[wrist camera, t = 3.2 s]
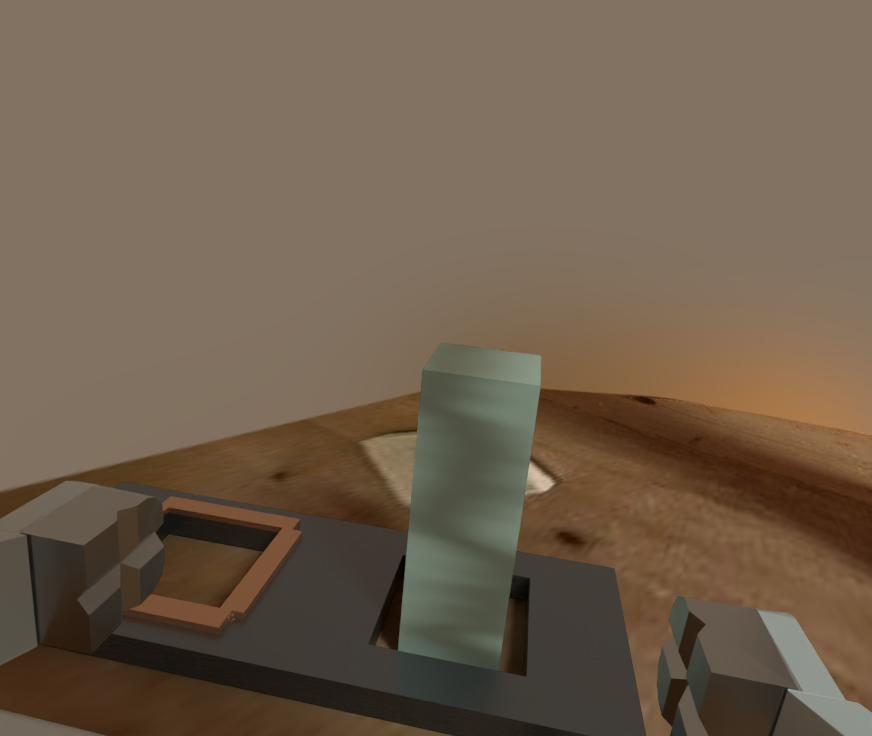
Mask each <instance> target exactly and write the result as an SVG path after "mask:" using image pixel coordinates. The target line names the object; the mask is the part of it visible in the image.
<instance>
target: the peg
mask: <svg viewBox="0 0 872 736" xmlns="http://www.w3.org/2000/svg"><path fill="white" fill-rule="evenodd" d="M540 388H541V355H532V354H525V353H518V352H510V351H502V350H495V349H487V348H479V347H471V346H463V345H456V344H449V343H441V344H440V345H439V347H438V348H437V350H436V351H435V353H434V354H433V355H432V357H431V358H430V360H429V361H428V363H427V364H426V366H425V367H424V368H423V372H422V384H421V395H420V406H419V417H418V429H417V440H416V451H415V462H414V474H413V485H412V496H411V508H410V519H409V530H408V542H407V553H406V564H405V575H404V587H403V598H402V609H401V621H400V632H399V643H398V651H403V652H408V653H412V654H417V655H422V656H427V657H432V658H437V659H442V660H447V661H452V662H457V663H462V664H467V665H471V666H476V667H481V668H486V669H491V670H496V671H498V670H499V663H500V656H501V650H502V643H503V636H504V630H505V623H506V616H507V609H508V603H509V596H510V589H511V583H512V576H513V569H514V562H515V556H516V549H517V542H518V536H519V529H520V522H521V515H522V509H523V502H524V495H525V488H526V482H527V475H528V468H529V462H530V455H531V448H532V441H533V435H534V428H535V421H536V415H537V408H538V401H539V394H540Z"/></svg>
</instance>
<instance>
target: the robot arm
mask: <svg viewBox="0 0 872 736" xmlns="http://www.w3.org/2000/svg"><path fill="white" fill-rule="evenodd" d="M163 523H164V520H163V506H162V503H161V502H160V501H159V500H158V499H157V498H156V497H153V496H148V495H143V494H138V493H134V492H129V491H124V490H119V489H115V488H110V487H105V486H99V485H96V484H91V483H85V482H79V481H65V482H63V483H61V484H59V485H58V486H56V487H54V488H53V489H51V490H49V491H47V492H46V493H44V494H42V495H40V496H39V497H37V498H35V499H33V500H32V501H30V502H28V503H27V504H25V505H23V506H21V507H20V508H18V509H16V510H14V511H13V512H11V513H9V514H7V515H6V516H4V517H2V518H1V519H0V665H2V664H4V663H6V662H8V661H10V660H12V659H14V658H16V657H18V656H20V655H22V654H24V653H26V652H28V651H30V650H32V649H34V648H36V647H37V646H38V644H42V645H47V646H53V647H58V648H63V649H68V650H73V651H78V652H83V653H89V654H92V653H93V652H94V651H95V650H96V649H97V648H98V647H99V646H100V645H101V644H102V643H103V642H104V641H105V640H106V639H107V638H108V637H109V636H110V635H111V634H112V633H113V632H114V631H115V630H116V629H117V628H118V627H119V626H120V625H121V624H122V612H124V611H126V610H129V609H131V608H134V607H136V606H139V605H141V604H142V603H143V602H144V601H145V600H146V599H147V598H148V597H149V596H150V595H151V593H152V592H153V591H154V589H155V587H156V585H157V583H158V581H159V579H160V577H161V575H162V570H163V565H164V545H163V544H162V542H161V541H160V539H159V538H158V536H157V535H156V533H155V532H156V531H157V530H158V529H159V527H160V526H161V525H162V524H163ZM669 621H670V625H671V628H672V632H673V635H674V637H673V638H672V639H670V640H669V641H668V642H667V643H665V644H664V645H663V646H662V651H661V655H660V660H659V664H658V679H657V689H658V700H659V705H660V710H661V714H662V716H663V718H664V719H665V720H666V721H667V722H668V723H669V724H670V725H671V726H672V730H671V734H670V736H872V713H871V712H870V711H869V710H867V709H866V708H865V707H863V706H862V705H861V704H859V703H855V702H851V701H846V700H845V698H844V696H843V695H842V693H841V692H840V690H839V688H838V687H837V685H836V684H835V682H834V680H833V679H832V677H831V675H830V674H829V672H828V671H827V669H826V667H825V666H824V664H823V663H822V661H821V659H820V658H819V656H818V654H817V653H816V651H815V650H814V648H813V646H812V645H811V643H810V642H809V640H808V638H807V637H806V635H805V633H804V632H803V630H802V629H801V627H800V625H799V624H798V622H797V621H796V619H795V618H794V617H793V616H791V615H790V614H788V613H784V612H777V611H770V610H764V609H757V608H748V607H742V606H736V605H730V604H724V603H718V602H712V601H706V600H700V599H693V598H687V597H681V596H677V598H676V600H675V602H674V604H673V607H672V610H671V614H670V618H669ZM0 736H107V735H103V734H99V733H95V732H91V731H87V730H83V729H78V728H74V727H70V726H66V725H62V724H58V723H54V722H50V721H46V720H42V719H38V718H34V717H30V716H26V715H22V714H18V713H14V712H10V711H6V710H2V709H0Z"/></svg>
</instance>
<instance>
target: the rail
mask: <svg viewBox="0 0 872 736" xmlns="http://www.w3.org/2000/svg"><path fill="white" fill-rule="evenodd" d="M114 488H115V489H119V490H124V491H129V492H134V493H138V494H143V495H148V496H153V497H156V498H157V499H158V500H159V501H160V502H161V503H162V506H163V520H164V523H163V524H162V525H161V526H160V527H159V529H158V530H157V531H156V532H155V533H156V535H157V536H158V538H159V539H160V541H162V540H163V539H164V538H165V537H166V536H167V535H169V534H174V535H180V536H185V537H190V538H196V539H201V540H207V541H212V542H217V543H223V544H228V545H233V546H239V547H244V548H250V549H255V550H260V551H264V552H263V553H262V555H261V556H260V557H259V559H258V560H257V561H256V562H255V564H254V565H253V566H252V567H251V569H250V570H249V571H248V573H247V574H246V575H245V576H244V578H243V579H242V580H241V582H240V583H239V584H238V585H237V587H236V588H235V589H234V590H233V592H232V593H231V594H230V596H229V597H228V598H227V599H226V601H225V602H224V603H223V604H222V606H221V607H220V608H218V607H213V606H208V605H203V604H198V603H193V602H188V601H183V600H178V599H173V598H168V597H163V596H158V595H154V594H151V595H150V596H149V597H148V598H147V599H146V600H145V601H144V602H143V603H142V604H141V605H139V606H136V607H134V608H131V609H129V610H126V611H124V612H122V624H121V625H120V626H119V627H118V628H117V629H116V630H115V631H114V632H113V633H112V634H111V635H110V636H109V637H108V638H107V639H106V640H105V641H104V642H103V643H102V644H101V645H100V646H99V647H98V648H97V649H96V650H95V651H94V652H93V653H92V654H89V653H83V652H79V653H83V654H88V655H92V656H97V657H102V658H106V659H111V660H115V661H120V662H124V663H129V664H133V665H138V666H142V667H147V668H152V669H156V670H161V671H165V672H170V673H174V674H179V675H183V676H188V677H192V678H197V679H202V680H206V681H211V682H215V683H220V684H224V685H229V686H233V687H238V688H242V689H247V690H251V691H256V692H261V693H265V694H270V695H274V696H279V697H283V698H288V699H292V700H297V701H301V702H306V703H311V704H315V705H320V706H324V707H329V708H333V709H338V710H342V711H347V712H351V713H356V714H361V715H365V716H370V717H374V718H379V719H383V720H388V721H392V722H397V723H401V724H406V725H410V726H415V727H420V728H424V729H429V730H433V731H438V732H442V733H447V734H451V735H456V736H646V732H645V727H644V722H643V717H642V711H641V706H640V701H639V696H638V690H637V685H636V680H635V675H634V669H633V664H632V659H631V654H630V648H629V643H628V638H627V633H626V627H625V622H624V617H623V612H622V606H621V601H620V596H619V591H618V585H617V580H616V575H615V570H614V568H610V567H604V566H598V565H593V564H587V563H581V562H576V561H570V560H564V559H559V558H553V557H547V556H541V555H536V554H530V553H524V552H519V551H516V556H515V562H514V569H513V576H512V583H511V589H510V596H509V597H512V598H518V599H523V600H527V602H526V626H525V651H524V675H523V676H521V675H516V674H511V673H506V672H501V671H496V670H491V669H486V668H481V667H476V666H471V665H467V664H462V663H457V662H452V661H447V660H442V659H437V658H432V657H427V656H422V655H417V654H412V653H408V652H403V651H398V650H393V649H388V648H383V647H378V646H375V645H376V642H377V639H378V637H379V634H380V631H381V629H382V626H383V623H384V621H385V618H386V615H387V613H388V610H389V607H390V605H391V602H392V599H393V596H394V594H395V591H396V588H397V586H398V583H399V580H400V578H401V577H404V575H405V564H406V553H407V542H408V532H405V531H399V530H394V529H388V528H382V527H377V526H371V525H365V524H359V523H354V522H348V521H342V520H337V519H331V518H325V517H320V516H314V515H308V514H303V513H297V512H291V511H286V510H280V509H274V508H268V507H263V506H257V505H251V504H246V503H240V502H234V501H229V500H223V499H217V498H212V497H206V496H200V495H195V494H189V493H183V492H177V491H172V490H166V489H160V488H155V487H149V486H143V485H138V484H132V483H126V482H121V483H120V484H118V485H117V486H115V487H114ZM52 647H53V646H52ZM56 648H58V647H56ZM61 649H63V648H61ZM65 650H68V649H65ZM70 651H73V650H70ZM74 652H78V651H74Z"/></svg>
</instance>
